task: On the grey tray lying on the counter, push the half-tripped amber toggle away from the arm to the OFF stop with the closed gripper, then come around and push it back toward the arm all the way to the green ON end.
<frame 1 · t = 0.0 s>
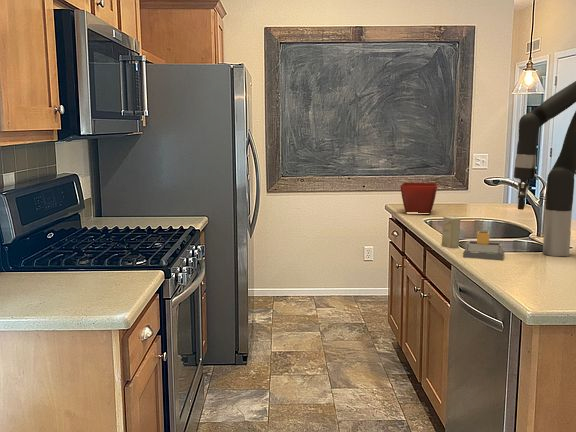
hand: (521, 208, 234), 17 cm above the countertop, tool pointing down, fingers open, 8 cm apart
skincare box: (450, 247, 247), on the countertop
grey tray: (483, 256, 228), on the countertop
plant pot: (418, 214, 342), on the countertop
toggle: (483, 240, 227), point 6 cm above the countertop, slide at 3.5 cm
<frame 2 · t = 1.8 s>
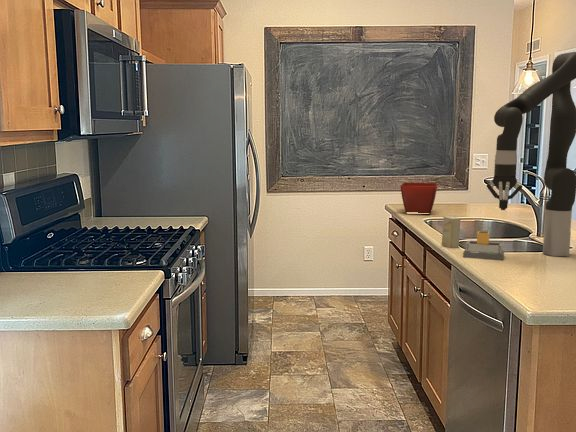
hand: (503, 209, 223), 18 cm above the countertop, tool pointing down, fingers closed
nothing on the countertop moved.
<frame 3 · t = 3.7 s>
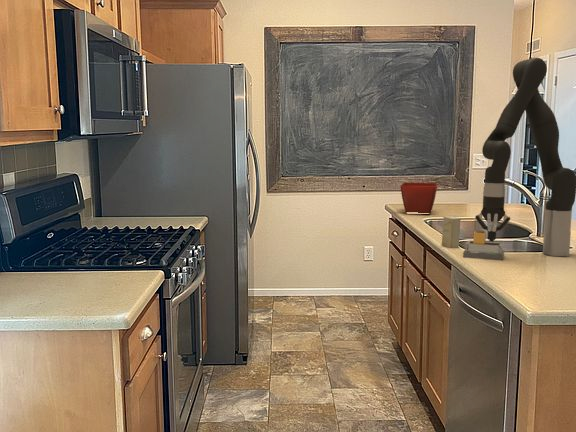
hand: (491, 241, 226), 6 cm above the countertop, tool pointing down, fingers closed
toggle: (479, 240, 227), point 6 cm above the countertop, slide at 4.8 cm, touching gripper
everything else where it was.
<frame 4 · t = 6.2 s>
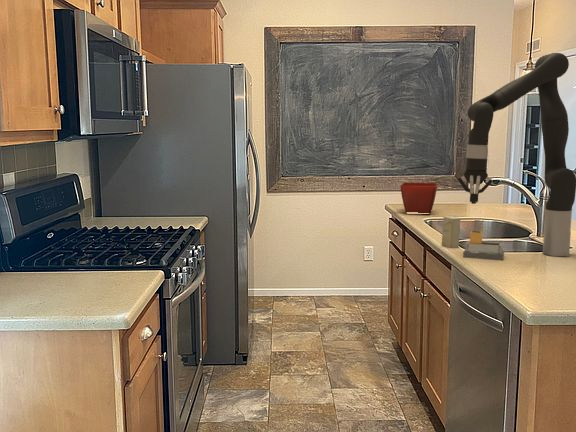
hand: (473, 203, 226), 20 cm above the countertop, tool pointing down, fingers closed
toggle: (476, 240, 228), point 6 cm above the countertop, slide at 6.0 cm
everything else where it was.
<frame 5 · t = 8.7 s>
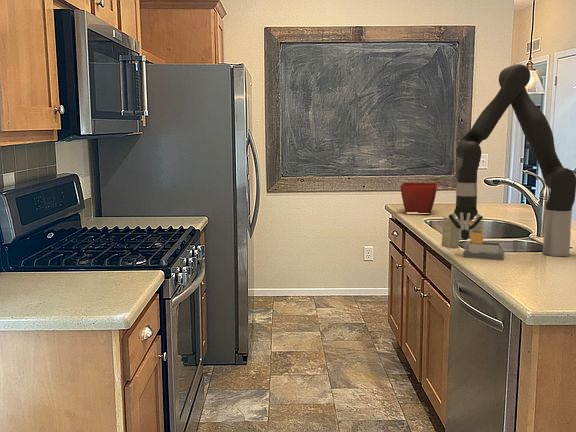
hand: (464, 239, 230), 6 cm above the countertop, tool pointing down, fingers closed
toggle: (477, 240, 228), point 6 cm above the countertop, slide at 5.7 cm, touching gripper
everything else where it was.
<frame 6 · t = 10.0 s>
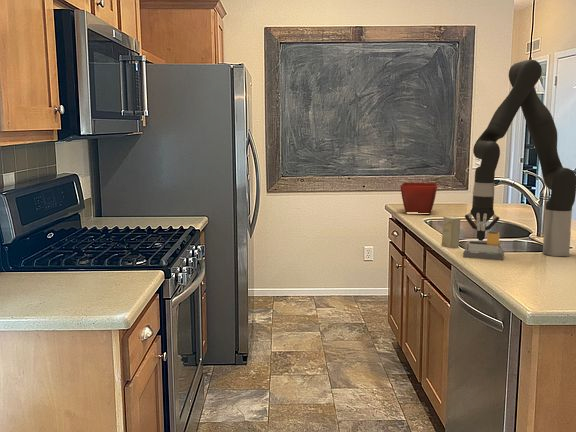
hand: (480, 240, 227), 6 cm above the countertop, tool pointing down, fingers closed
toggle: (493, 241, 226), point 6 cm above the countertop, slide at -0.1 cm, touching gripper
everything else where it was.
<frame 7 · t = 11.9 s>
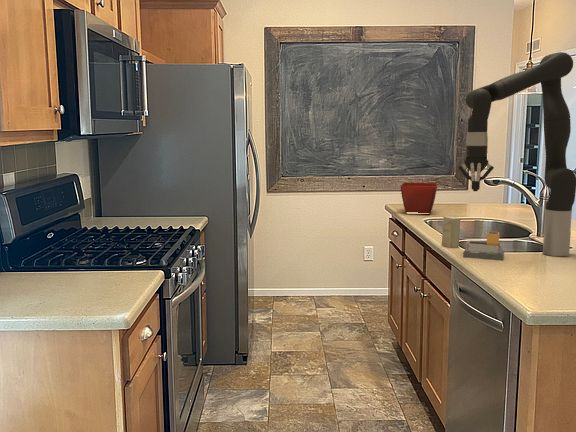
hand: (475, 191, 226), 25 cm above the countertop, tool pointing down, fingers closed
toggle: (492, 241, 226), point 6 cm above the countertop, slide at 0.0 cm
everything else where it was.
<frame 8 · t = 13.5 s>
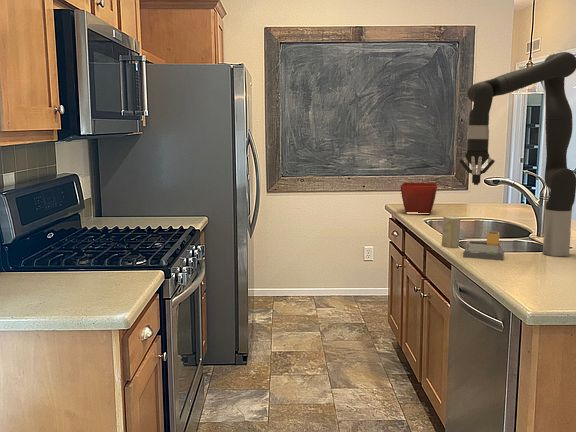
hand: (475, 184, 225), 27 cm above the countertop, tool pointing down, fingers closed
nothing on the countertop moved.
at the end: toggle slide at 0.0 cm; the gripper is holding nothing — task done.
